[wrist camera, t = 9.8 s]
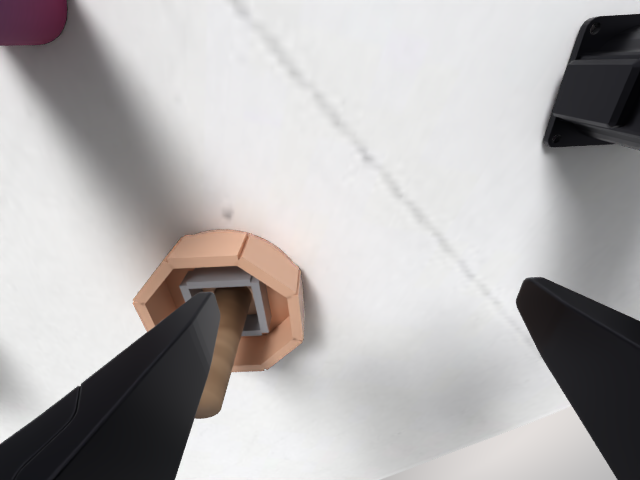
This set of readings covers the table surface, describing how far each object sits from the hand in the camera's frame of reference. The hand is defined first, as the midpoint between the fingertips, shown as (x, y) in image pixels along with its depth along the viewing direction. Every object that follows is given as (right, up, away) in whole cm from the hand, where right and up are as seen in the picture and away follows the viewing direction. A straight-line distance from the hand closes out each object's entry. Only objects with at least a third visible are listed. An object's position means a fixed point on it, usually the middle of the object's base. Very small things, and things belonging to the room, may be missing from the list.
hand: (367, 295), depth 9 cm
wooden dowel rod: (-8, -3, +15) cm, 18 cm away
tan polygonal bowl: (-9, -3, +16) cm, 18 cm away
